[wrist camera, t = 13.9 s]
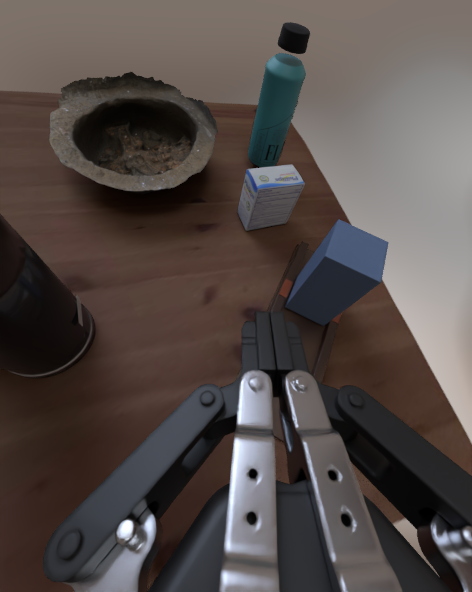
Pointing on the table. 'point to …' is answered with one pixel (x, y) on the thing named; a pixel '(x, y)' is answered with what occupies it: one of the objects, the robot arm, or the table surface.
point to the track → (302, 327)
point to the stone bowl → (131, 132)
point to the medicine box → (269, 196)
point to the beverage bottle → (278, 97)
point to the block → (338, 273)
